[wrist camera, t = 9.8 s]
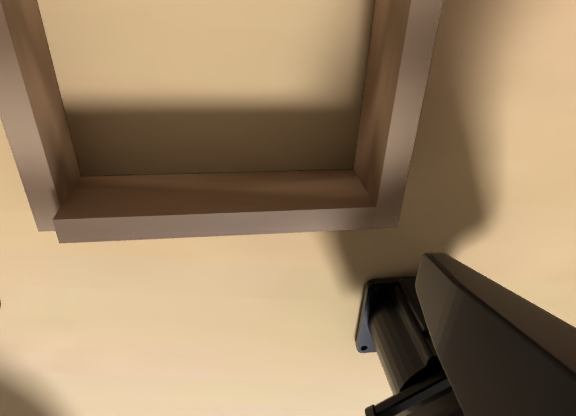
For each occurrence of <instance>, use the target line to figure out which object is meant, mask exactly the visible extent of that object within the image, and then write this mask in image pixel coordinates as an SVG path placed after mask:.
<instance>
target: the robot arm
mask: <svg viewBox="0 0 576 416" xmlns="http://www.w3.org/2000/svg"><path fill="white" fill-rule="evenodd" d="M375 286H376V287H375ZM373 287H375V288H373ZM0 306H1V301H0ZM356 347H357V350H358V352H360V353H368V352H377V354H378V356H379V359H380V362H381V364H382V367H383V369H384V372H385V375H386V377H387V380H388V382H389V385H390V388H391V390H392V393H393V396H391V397H389V398H387V399H386V400H384V401H382V402H380V403H378V404H376V405H375V406H374V405H371V406H369V407H367V408H366V409H365V414H366V416H576V328H575V327H573V326H572V325H570V324H568V323H566V322H565V321H563V320H561V319H559V318H558V317H556V316H554V315H552V314H550V313H549V312H547V311H545V310H543V309H542V308H540V307H538V306H536V305H535V304H533V303H531V302H529V301H528V300H526V299H524V298H522V297H521V296H519V295H517V294H515V293H514V292H512V291H510V290H508V289H507V288H505V287H503V286H501V285H499V284H498V283H496V282H494V281H492V280H491V279H489V278H487V277H485V276H484V275H482V274H480V273H478V272H477V271H475V270H473V269H471V268H470V267H468V266H466V265H464V264H463V263H461V262H459V261H457V260H456V259H454V258H452V257H450V256H449V255H447V254H445V253H442V252H431V253H425V254H424V255H423V256H422V259H421V263H420V266H419V270H418V274H417V277H403V278H387V279H373V280H370V281H369V282H368V283H367V284H366V288H365V294H364V300H363V305H362V311H361V317H360V323H359V329H358V334H357V340H356Z"/></svg>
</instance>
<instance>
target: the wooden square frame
mask: <svg viewBox="0 0 576 416" xmlns="http://www.w3.org/2000/svg"><path fill="white" fill-rule="evenodd" d="M442 5H443V0H375V5H374V13H373V21H372V29H371V36H370V44H369V52H368V60H367V68H366V76H365V83H364V91H363V99H362V107H361V115H360V123H359V130H358V138H357V146H356V154H355V162H354V169H351V170H313V171H276V172H238V173H200V174H162V175H124V176H86V177H81V175H80V171H79V167H78V163H77V159H76V155H75V151H74V147H73V143H72V139H71V135H70V131H69V127H68V123H67V119H66V115H65V111H64V107H63V103H62V99H61V96H60V92H59V88H58V84H57V80H56V76H55V72H54V68H53V64H52V60H51V56H50V52H49V48H48V44H47V40H46V36H45V32H44V28H43V24H42V20H41V16H40V12H39V8H38V4H37V0H0V118H1V121H2V124H3V127H4V130H5V133H6V136H7V139H8V141H9V144H10V147H11V150H12V153H13V156H14V159H15V162H16V165H17V168H18V171H19V174H20V177H21V180H22V183H23V186H24V189H25V192H26V195H27V198H28V201H29V204H30V207H31V210H32V213H33V216H34V219H35V222H36V225H37V228H38V231H56V234H57V237H58V240H59V243H76V242H98V241H120V240H142V239H164V238H186V237H208V236H229V235H251V234H273V233H295V232H317V231H339V230H361V229H383V228H397V226H398V221H399V216H400V211H401V206H402V201H403V196H404V191H405V186H406V182H407V177H408V172H409V167H410V162H411V157H412V152H413V147H414V142H415V137H416V133H417V128H418V123H419V118H420V113H421V108H422V103H423V98H424V93H425V88H426V84H427V79H428V74H429V69H430V64H431V59H432V54H433V49H434V44H435V39H436V34H437V30H438V25H439V20H440V15H441V10H442Z"/></svg>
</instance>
